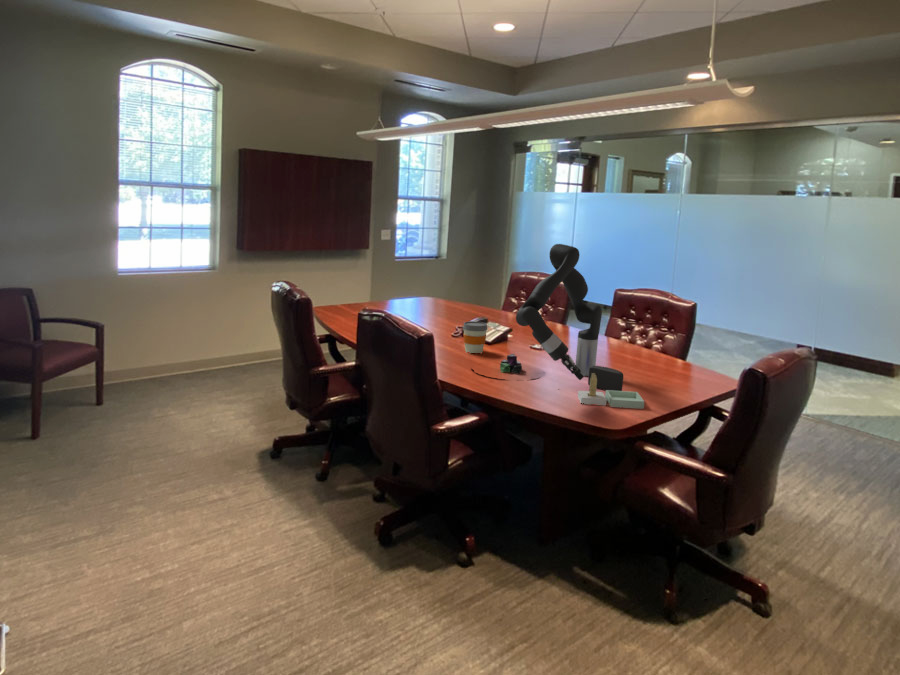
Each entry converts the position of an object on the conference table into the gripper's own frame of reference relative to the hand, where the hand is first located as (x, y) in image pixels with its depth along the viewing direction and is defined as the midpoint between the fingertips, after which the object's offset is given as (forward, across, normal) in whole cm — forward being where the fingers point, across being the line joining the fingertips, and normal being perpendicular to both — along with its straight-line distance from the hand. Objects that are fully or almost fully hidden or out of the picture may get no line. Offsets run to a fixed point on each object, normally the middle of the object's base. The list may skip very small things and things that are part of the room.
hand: (580, 375), depth 262 cm
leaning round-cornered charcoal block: (+17, +17, -2) cm, 24 cm away
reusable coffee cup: (-24, +74, +39) cm, 87 cm away
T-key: (+11, 0, +4) cm, 12 cm away
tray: (+20, 0, -6) cm, 21 cm away
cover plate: (+11, 0, +4) cm, 12 cm away
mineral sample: (-12, +40, +28) cm, 50 cm away
